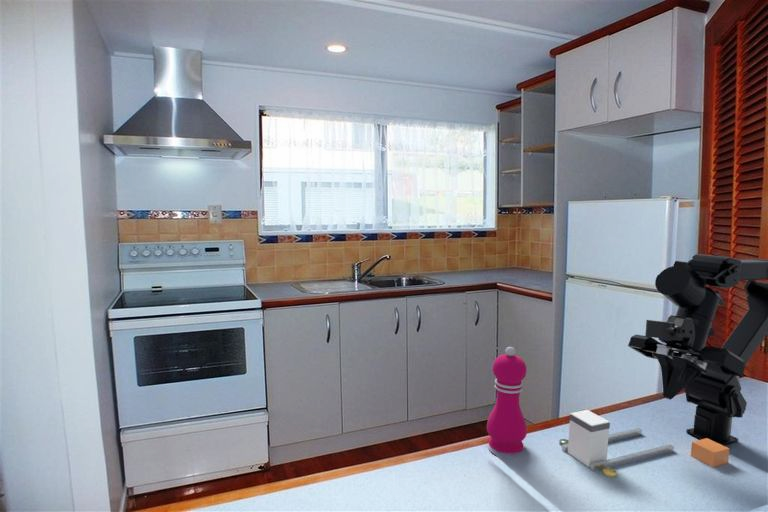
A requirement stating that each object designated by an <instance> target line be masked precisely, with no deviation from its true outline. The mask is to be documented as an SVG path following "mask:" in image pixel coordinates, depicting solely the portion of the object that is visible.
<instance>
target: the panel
mask: <svg viewBox="0 0 768 512" xmlns="http://www.w3.org/2000/svg"><path fill="white" fill-rule="evenodd" d="M642 433H643V430H642V429H641V428H640V427H638V428H632V429H628V430H624V431H619V432H614V433H609V436H608V443H611V442H615V441H619V440H624V439H628V438H633V437H636V436H641V435H643V434H642ZM568 442H569V439H566V438H561V439H559V442H558V443H559V446H561V451H563V452H564V453H566V452H567V453H568ZM674 449H675V446H674V445H672V444H666V445H662V446H657V447H653V448H649V449H646V450H642V451H641V450H640V451H638V452H633V453H630V454H625V455H622V456H621V455H620V456H618V457H612V458H609V459H608V458H607V460H604V461H600V462H596V463H592V464H590V467H589V470H591V471H592V472H597V471H598V472H599V471H601V470H602V474H603V475H605V476H606V477H610V478H615V477H616V475H617V470H616V469H615V468H613V467H618V466H622V465H625V464H629V463H634V462H638V461H641V460H645V459H649V458H652V457H657V456H659V455H665V454H668V453H673V452H674Z"/></svg>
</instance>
